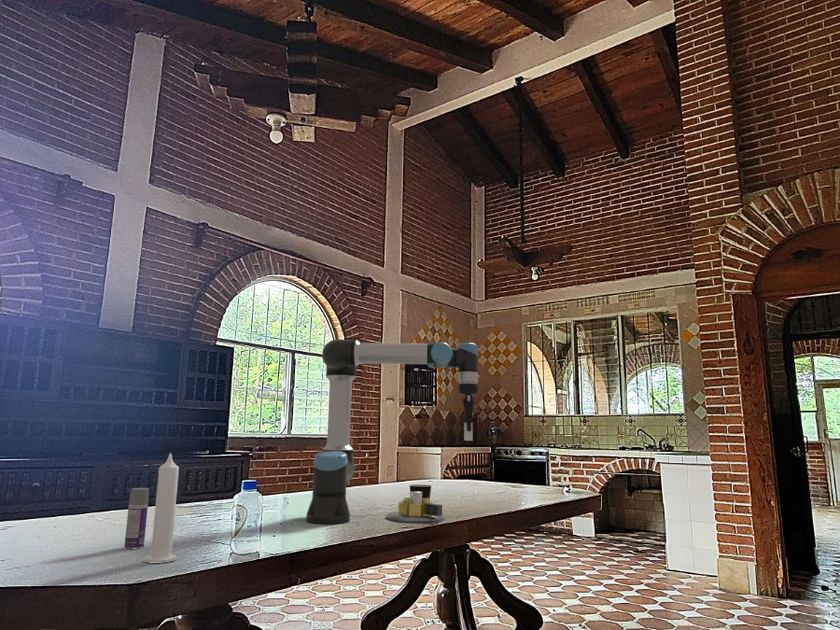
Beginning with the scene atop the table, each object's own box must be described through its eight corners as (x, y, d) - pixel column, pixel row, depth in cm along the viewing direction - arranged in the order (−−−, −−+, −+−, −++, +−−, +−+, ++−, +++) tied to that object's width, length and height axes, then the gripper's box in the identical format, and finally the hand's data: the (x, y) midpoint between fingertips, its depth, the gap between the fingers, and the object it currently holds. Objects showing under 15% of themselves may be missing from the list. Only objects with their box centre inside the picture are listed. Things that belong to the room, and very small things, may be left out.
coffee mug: (428, 513, 227) (429, 486, 229) (407, 512, 229) (407, 486, 231) (434, 509, 238) (434, 484, 240) (413, 509, 240) (413, 483, 242)
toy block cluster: (391, 513, 216) (392, 498, 217) (417, 510, 224) (417, 496, 225) (426, 519, 202) (426, 503, 203) (452, 516, 210) (452, 501, 211)
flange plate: (384, 522, 205) (384, 494, 207) (389, 513, 226) (390, 488, 227) (444, 523, 204) (444, 495, 206) (444, 514, 225) (444, 489, 226)
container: (138, 545, 159) (144, 487, 162) (147, 547, 156) (152, 488, 159) (120, 547, 155) (127, 488, 158) (129, 550, 152) (135, 489, 155)
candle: (180, 557, 145) (189, 453, 150) (169, 563, 138) (179, 454, 143) (151, 557, 145) (161, 452, 149) (139, 563, 138) (150, 453, 142)
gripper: (479, 381, 213) (480, 441, 209) (476, 386, 238) (476, 439, 234) (458, 380, 214) (458, 440, 210) (457, 385, 238) (457, 439, 234)
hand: (468, 440), depth 222 cm, fingers open, 13 cm apart
